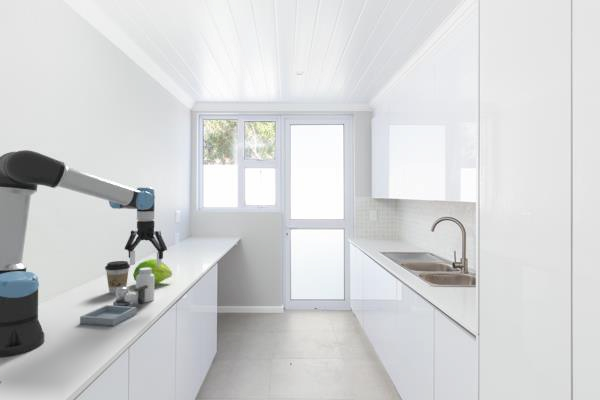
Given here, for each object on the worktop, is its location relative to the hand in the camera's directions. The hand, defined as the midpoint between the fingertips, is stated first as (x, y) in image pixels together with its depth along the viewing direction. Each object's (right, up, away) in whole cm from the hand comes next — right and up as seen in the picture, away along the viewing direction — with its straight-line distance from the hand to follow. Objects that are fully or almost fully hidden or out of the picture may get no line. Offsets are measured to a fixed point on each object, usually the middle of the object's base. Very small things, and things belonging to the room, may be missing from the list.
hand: (145, 265), depth 161 cm
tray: (-4, -17, -24) cm, 30 cm away
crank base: (-7, -16, -2) cm, 18 cm away
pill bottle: (0, -17, 0) cm, 17 cm away
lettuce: (-9, -16, +29) cm, 35 cm away
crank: (-3, -15, -8) cm, 17 cm away
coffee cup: (-20, -16, +13) cm, 29 cm away
